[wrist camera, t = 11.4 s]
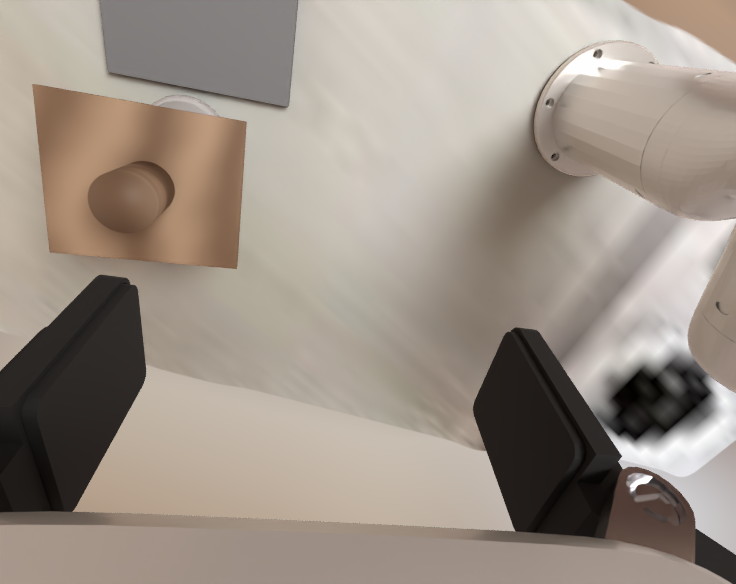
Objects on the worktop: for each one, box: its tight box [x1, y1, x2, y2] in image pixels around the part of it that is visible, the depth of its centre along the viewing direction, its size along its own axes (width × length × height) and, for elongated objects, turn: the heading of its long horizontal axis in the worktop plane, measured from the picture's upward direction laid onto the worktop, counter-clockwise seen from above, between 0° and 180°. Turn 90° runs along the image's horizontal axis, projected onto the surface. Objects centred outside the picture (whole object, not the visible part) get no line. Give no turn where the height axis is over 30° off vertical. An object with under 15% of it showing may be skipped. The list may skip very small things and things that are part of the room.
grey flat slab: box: [100, 0, 298, 107], centre depth 36 cm, size 16×12×1 cm
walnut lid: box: [32, 84, 247, 269], centre depth 30 cm, size 14×12×7 cm
